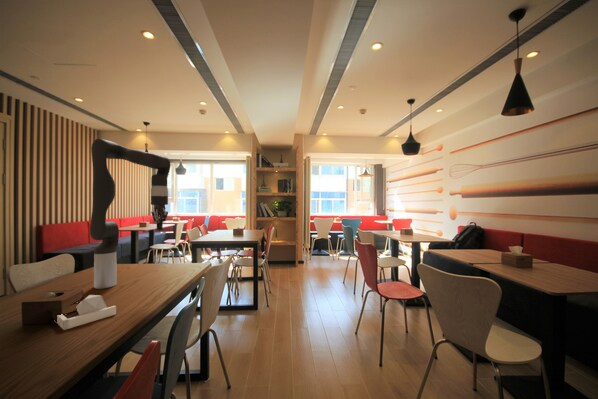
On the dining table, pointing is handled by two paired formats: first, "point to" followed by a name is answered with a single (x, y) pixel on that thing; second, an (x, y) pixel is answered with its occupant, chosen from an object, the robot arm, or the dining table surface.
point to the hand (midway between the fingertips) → (159, 230)
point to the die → (91, 304)
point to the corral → (84, 318)
